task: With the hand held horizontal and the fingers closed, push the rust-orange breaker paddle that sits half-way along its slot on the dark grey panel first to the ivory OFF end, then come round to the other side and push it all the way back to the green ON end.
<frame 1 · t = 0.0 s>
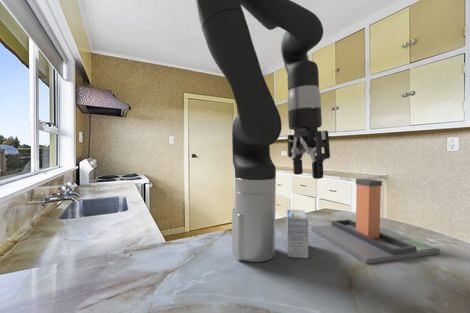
hand: (307, 176, 53), 17 cm above the countertop, tool pointing down, fingers open, 8 cm apart
medicine box: (296, 251, 52), on the countertop
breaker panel: (367, 240, 58), on the countertop
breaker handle: (367, 207, 58), point 9 cm above the countertop, slide at 0.0 cm
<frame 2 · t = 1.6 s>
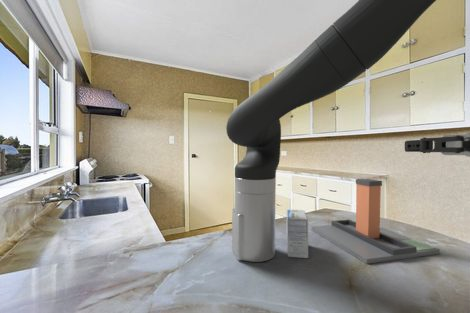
hand: (421, 146, 45), 24 cm above the countertop, tool horizontal, fingers open, 7 cm apart
nothing on the countertop moved.
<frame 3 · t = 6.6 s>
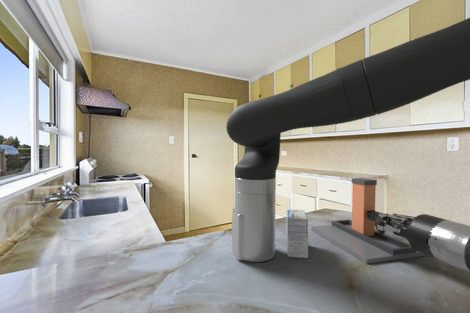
hand: (369, 214, 57), 7 cm above the countertop, tool horizontal, fingers closed
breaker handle: (363, 206, 59), point 9 cm above the countertop, slide at 1.5 cm, touching gripper
everything else where it was.
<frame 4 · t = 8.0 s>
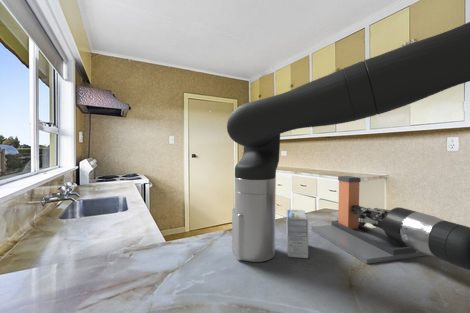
hand: (353, 208, 62), 7 cm above the countertop, tool horizontal, fingers closed
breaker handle: (348, 201, 64), point 9 cm above the countertop, slide at 6.9 cm, touching gripper
everything else where it was.
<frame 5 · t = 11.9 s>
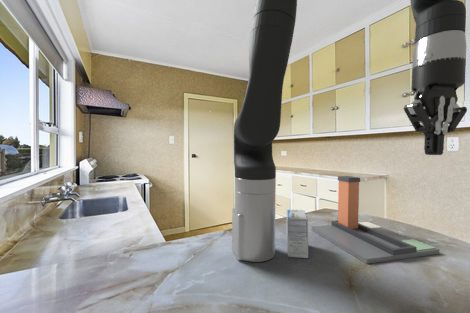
hand: (433, 154, 42), 23 cm above the countertop, tool pointing down, fingers closed
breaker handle: (348, 201, 64), point 9 cm above the countertop, slide at 7.0 cm
everything else where it was.
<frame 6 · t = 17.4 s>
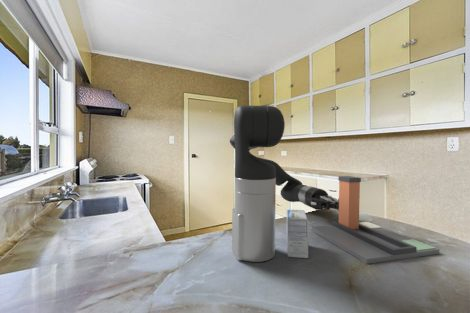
hand: (346, 208, 66), 6 cm above the countertop, tool horizontal, fingers closed
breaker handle: (348, 201, 64), point 9 cm above the countertop, slide at 6.7 cm, touching gripper
everything else where it was.
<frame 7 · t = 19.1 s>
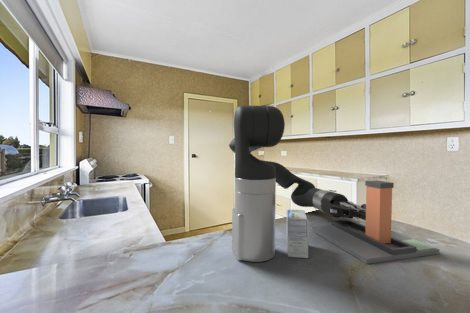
hand: (373, 218, 57), 6 cm above the countertop, tool horizontal, fingers closed
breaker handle: (378, 211, 54), point 9 cm above the countertop, slide at -3.1 cm, touching gripper
everything else where it was.
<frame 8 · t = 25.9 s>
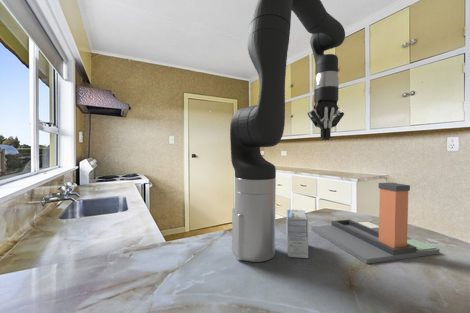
hand: (325, 139, 75), 27 cm above the countertop, tool pointing down, fingers closed
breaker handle: (393, 215, 51), point 9 cm above the countertop, slide at -7.0 cm
everything else where it was.
at the end: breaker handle slide at -7.0 cm; the gripper is holding nothing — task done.
